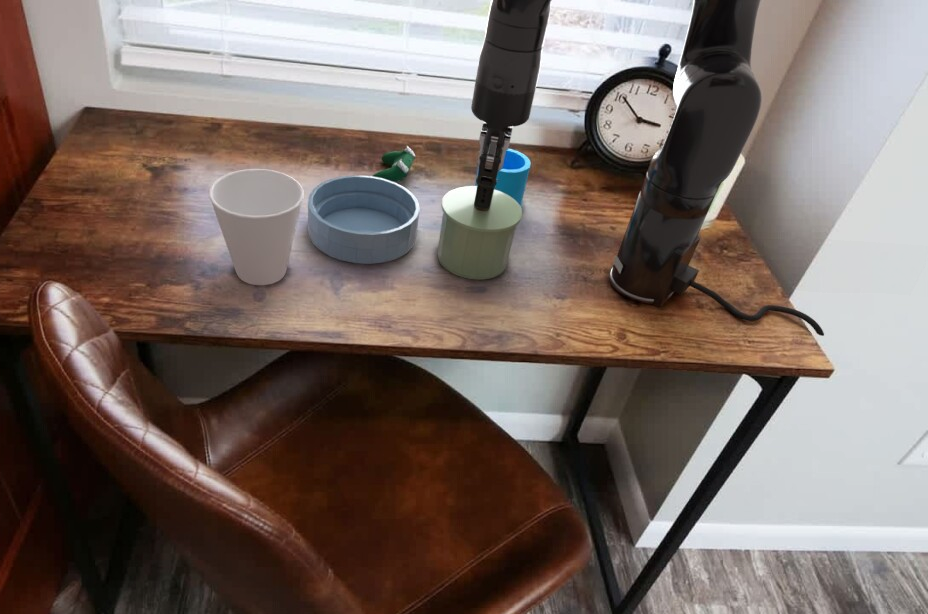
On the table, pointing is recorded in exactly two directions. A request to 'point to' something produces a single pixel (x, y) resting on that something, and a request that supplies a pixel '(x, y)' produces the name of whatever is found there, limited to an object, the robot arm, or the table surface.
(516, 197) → the mug
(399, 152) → the gaming controller
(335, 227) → the bowl
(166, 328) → the table surface
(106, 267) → the table surface
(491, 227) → the lid
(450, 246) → the canister
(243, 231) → the cup
